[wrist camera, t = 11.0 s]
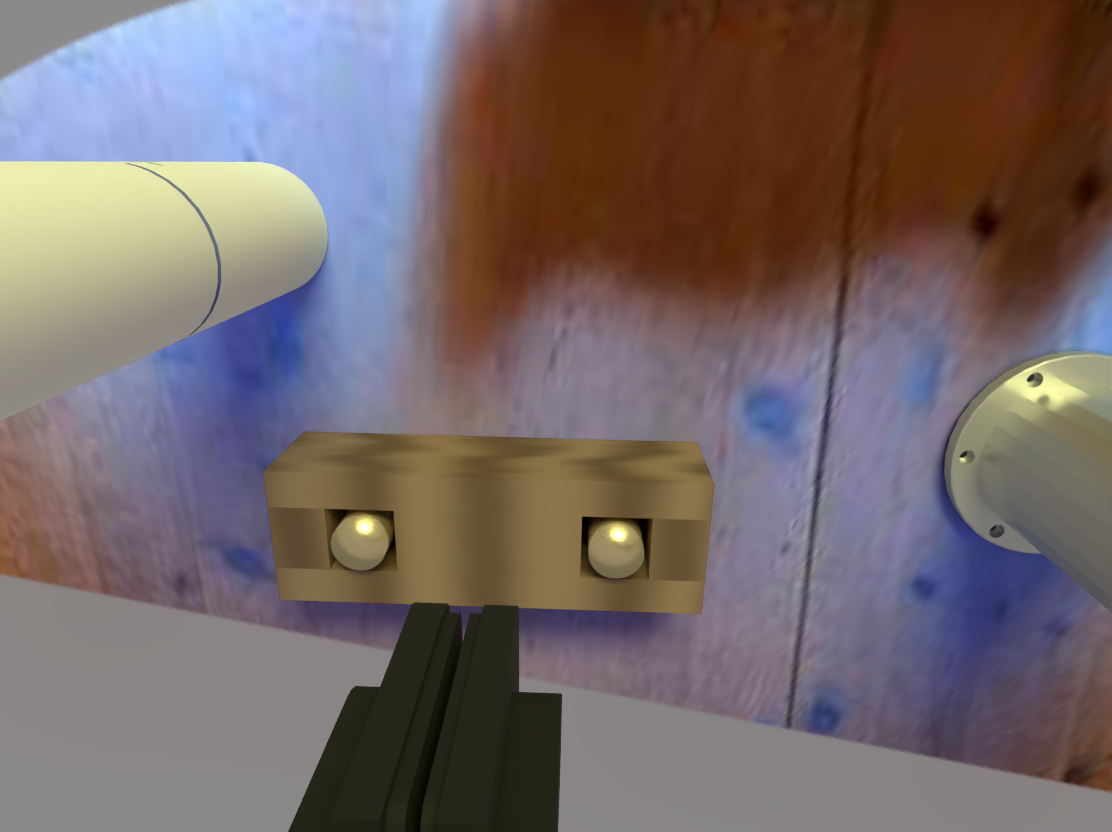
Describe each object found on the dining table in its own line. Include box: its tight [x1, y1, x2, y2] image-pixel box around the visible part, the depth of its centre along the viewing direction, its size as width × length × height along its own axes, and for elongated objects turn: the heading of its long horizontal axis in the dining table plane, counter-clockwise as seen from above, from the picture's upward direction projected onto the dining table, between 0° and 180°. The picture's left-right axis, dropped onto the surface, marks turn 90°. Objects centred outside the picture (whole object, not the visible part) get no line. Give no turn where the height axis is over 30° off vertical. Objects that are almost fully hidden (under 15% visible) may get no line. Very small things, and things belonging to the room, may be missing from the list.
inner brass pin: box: [588, 517, 644, 578], centre depth 41 cm, size 3×3×6 cm
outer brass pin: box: [331, 509, 395, 570], centre depth 42 cm, size 3×3×6 cm
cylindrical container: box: [0, 162, 328, 421], centre depth 28 cm, size 7×7×25 cm
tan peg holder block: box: [263, 432, 715, 614], centre depth 42 cm, size 24×8×6 cm, turn 89°
